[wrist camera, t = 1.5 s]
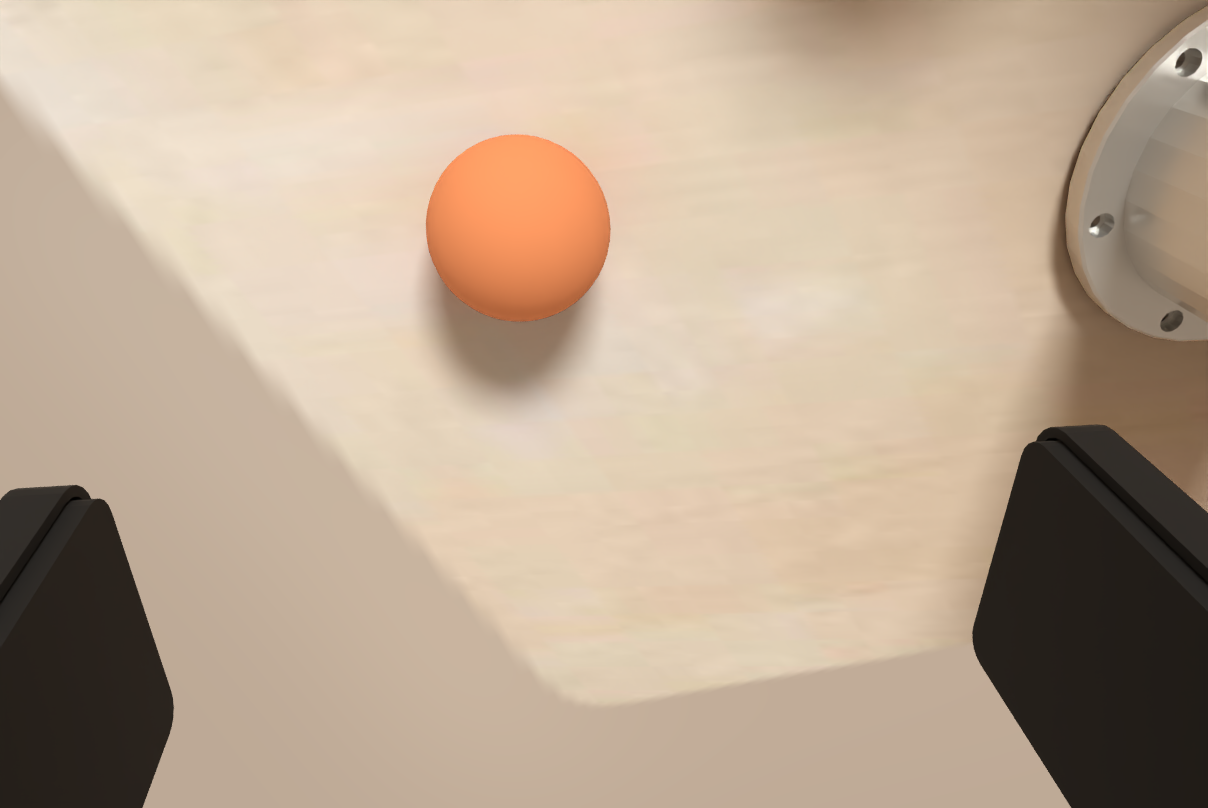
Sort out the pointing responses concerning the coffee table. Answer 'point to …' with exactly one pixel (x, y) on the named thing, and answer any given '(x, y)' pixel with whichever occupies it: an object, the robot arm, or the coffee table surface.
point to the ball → (518, 228)
